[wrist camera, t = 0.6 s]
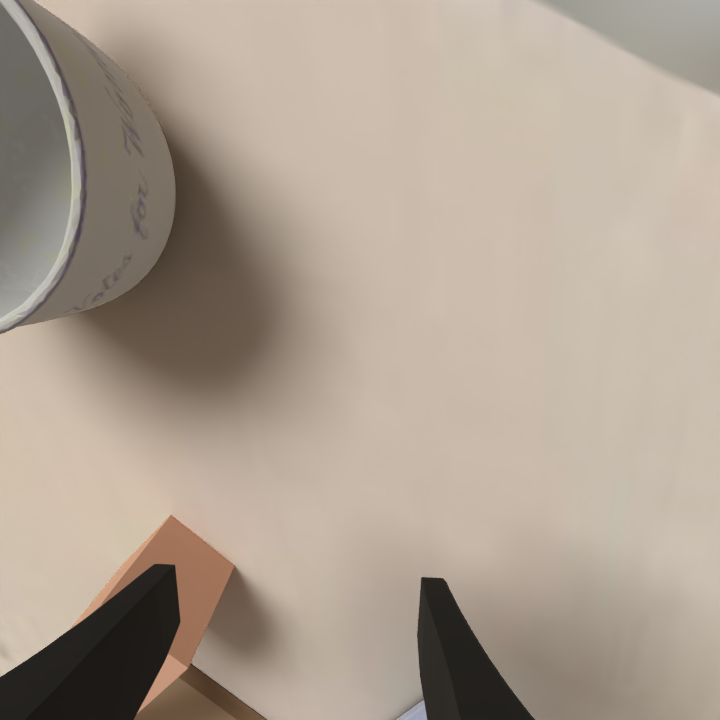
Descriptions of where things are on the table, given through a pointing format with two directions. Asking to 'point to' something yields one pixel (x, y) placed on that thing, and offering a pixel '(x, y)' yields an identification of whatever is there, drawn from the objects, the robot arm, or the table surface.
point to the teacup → (73, 172)
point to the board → (196, 701)
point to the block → (195, 590)
